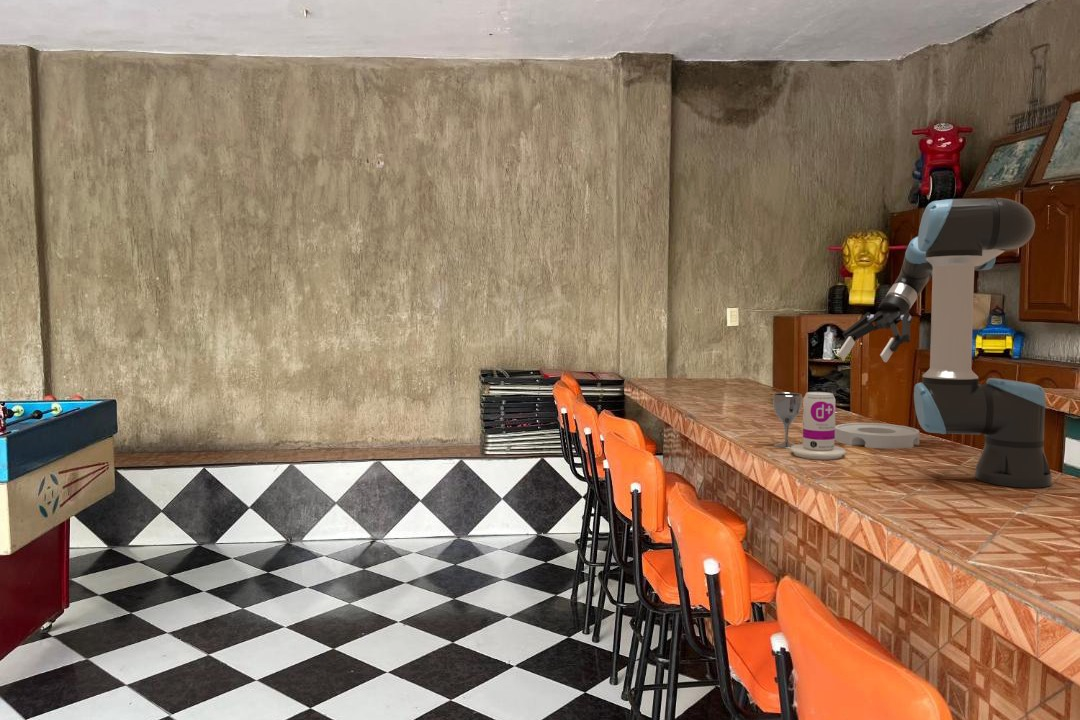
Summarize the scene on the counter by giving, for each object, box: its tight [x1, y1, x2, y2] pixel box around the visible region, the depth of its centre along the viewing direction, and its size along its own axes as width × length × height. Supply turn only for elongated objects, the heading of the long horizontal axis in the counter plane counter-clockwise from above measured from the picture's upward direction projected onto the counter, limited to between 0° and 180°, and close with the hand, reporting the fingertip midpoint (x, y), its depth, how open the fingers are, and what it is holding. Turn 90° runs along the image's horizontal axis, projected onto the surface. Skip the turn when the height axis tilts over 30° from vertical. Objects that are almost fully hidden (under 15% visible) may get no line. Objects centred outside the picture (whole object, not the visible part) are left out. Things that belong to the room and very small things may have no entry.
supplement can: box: [802, 391, 836, 451], centre depth 213 cm, size 8×8×15 cm
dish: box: [790, 443, 846, 461], centre depth 214 cm, size 14×14×2 cm
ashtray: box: [835, 422, 921, 450], centre depth 234 cm, size 23×23×4 cm
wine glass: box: [772, 391, 803, 449], centre depth 227 cm, size 8×8×15 cm
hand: (861, 357), depth 219 cm, fingers open, 13 cm apart
